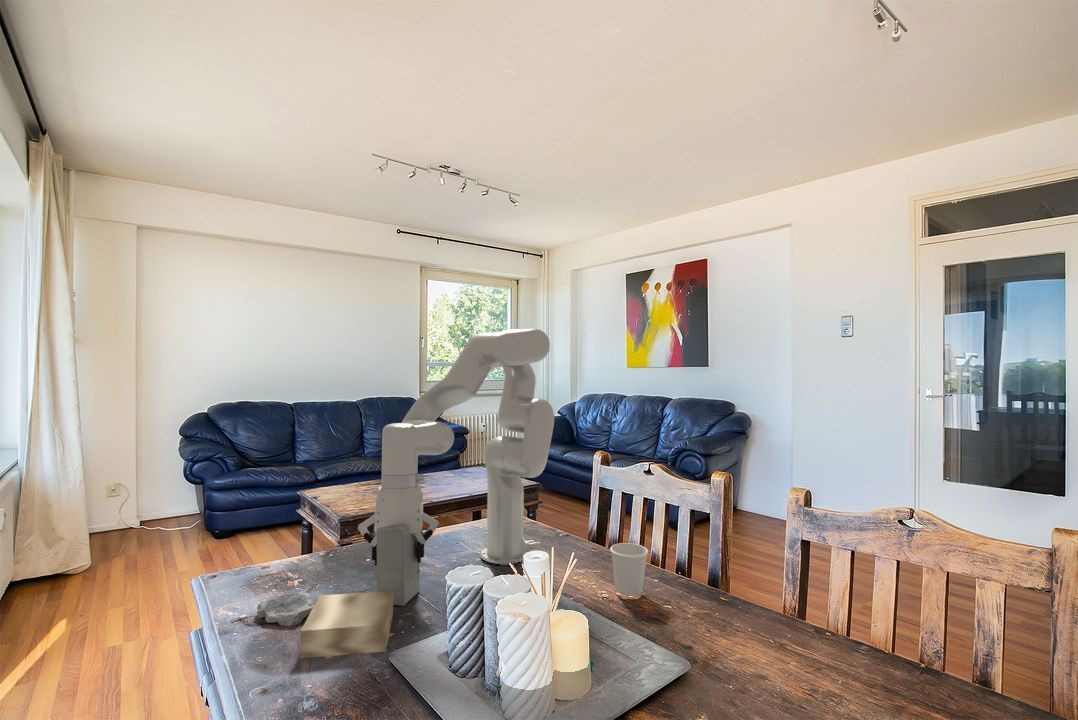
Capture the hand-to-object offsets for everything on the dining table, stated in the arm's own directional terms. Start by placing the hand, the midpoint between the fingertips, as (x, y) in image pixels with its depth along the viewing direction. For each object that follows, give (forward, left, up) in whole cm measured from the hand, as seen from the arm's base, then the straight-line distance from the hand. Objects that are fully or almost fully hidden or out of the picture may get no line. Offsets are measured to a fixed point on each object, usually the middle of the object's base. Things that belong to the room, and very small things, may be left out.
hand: (398, 561), depth 112 cm
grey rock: (+21, +4, -8) cm, 23 cm away
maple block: (+8, +15, -8) cm, 18 cm away
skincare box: (0, 0, -8) cm, 8 cm away
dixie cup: (-50, +7, -8) cm, 51 cm away
